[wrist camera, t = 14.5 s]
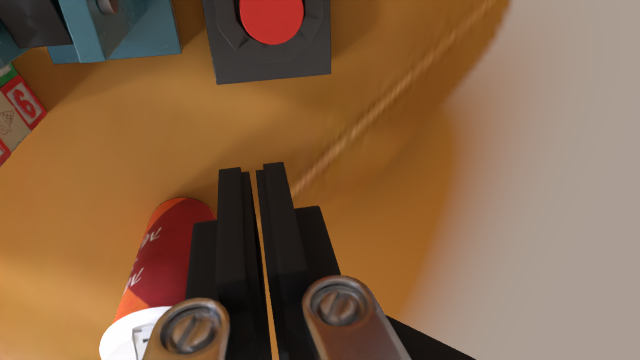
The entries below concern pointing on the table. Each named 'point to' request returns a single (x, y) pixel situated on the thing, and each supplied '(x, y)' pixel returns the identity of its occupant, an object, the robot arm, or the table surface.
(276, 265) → the robot arm
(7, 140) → the stack of blocks
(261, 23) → the button
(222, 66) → the control block
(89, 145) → the table surface
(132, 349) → the paper cup
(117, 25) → the bracket
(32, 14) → the lever
